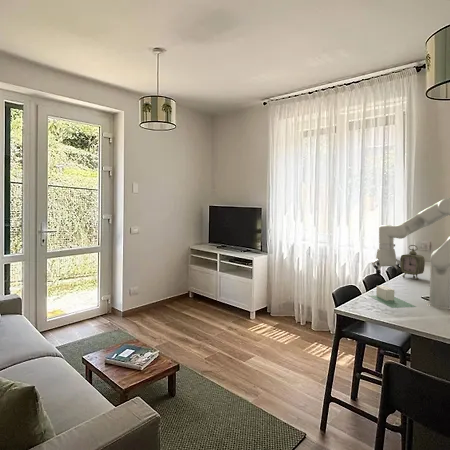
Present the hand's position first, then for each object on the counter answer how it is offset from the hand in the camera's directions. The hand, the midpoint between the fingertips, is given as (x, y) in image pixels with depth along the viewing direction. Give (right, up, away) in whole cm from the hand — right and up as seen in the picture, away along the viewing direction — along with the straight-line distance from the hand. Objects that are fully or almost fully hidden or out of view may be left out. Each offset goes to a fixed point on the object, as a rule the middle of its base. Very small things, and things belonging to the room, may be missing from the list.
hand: (386, 275), depth 200 cm
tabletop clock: (+47, -10, +58) cm, 75 cm away
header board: (0, -15, -5) cm, 15 cm away
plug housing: (0, -13, +1) cm, 13 cm away
